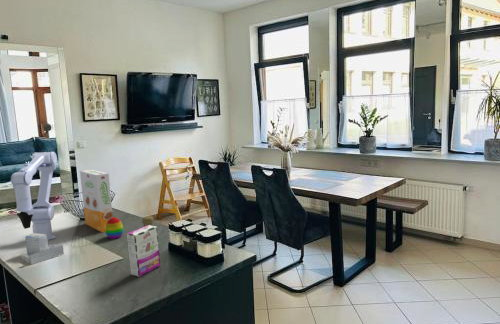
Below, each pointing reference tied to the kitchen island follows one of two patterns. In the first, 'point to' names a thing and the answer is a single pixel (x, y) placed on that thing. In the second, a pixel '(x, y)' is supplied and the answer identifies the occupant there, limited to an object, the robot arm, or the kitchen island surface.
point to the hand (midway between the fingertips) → (26, 227)
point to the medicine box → (36, 243)
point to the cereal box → (96, 198)
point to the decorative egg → (114, 228)
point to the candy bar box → (143, 250)
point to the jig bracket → (43, 254)
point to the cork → (147, 221)
